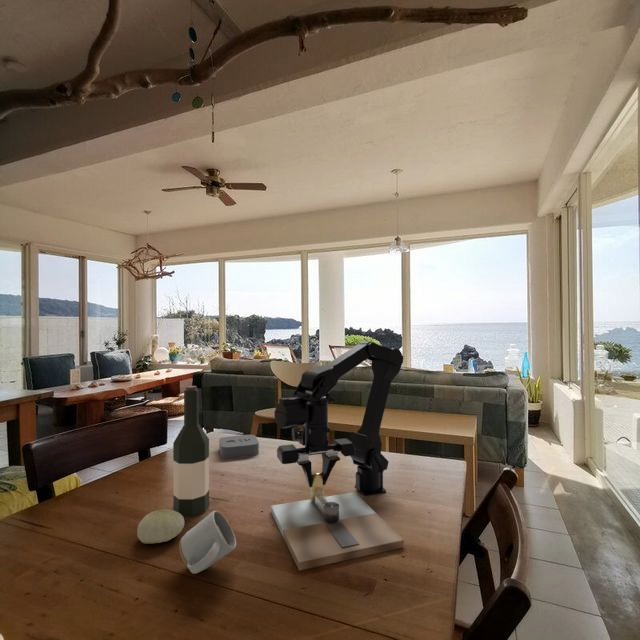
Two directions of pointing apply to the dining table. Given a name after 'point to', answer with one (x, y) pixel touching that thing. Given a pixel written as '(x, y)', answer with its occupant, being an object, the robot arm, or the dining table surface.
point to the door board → (333, 531)
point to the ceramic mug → (207, 542)
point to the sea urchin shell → (160, 526)
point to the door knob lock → (323, 499)
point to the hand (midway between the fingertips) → (316, 485)
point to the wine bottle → (191, 461)
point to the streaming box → (238, 446)
